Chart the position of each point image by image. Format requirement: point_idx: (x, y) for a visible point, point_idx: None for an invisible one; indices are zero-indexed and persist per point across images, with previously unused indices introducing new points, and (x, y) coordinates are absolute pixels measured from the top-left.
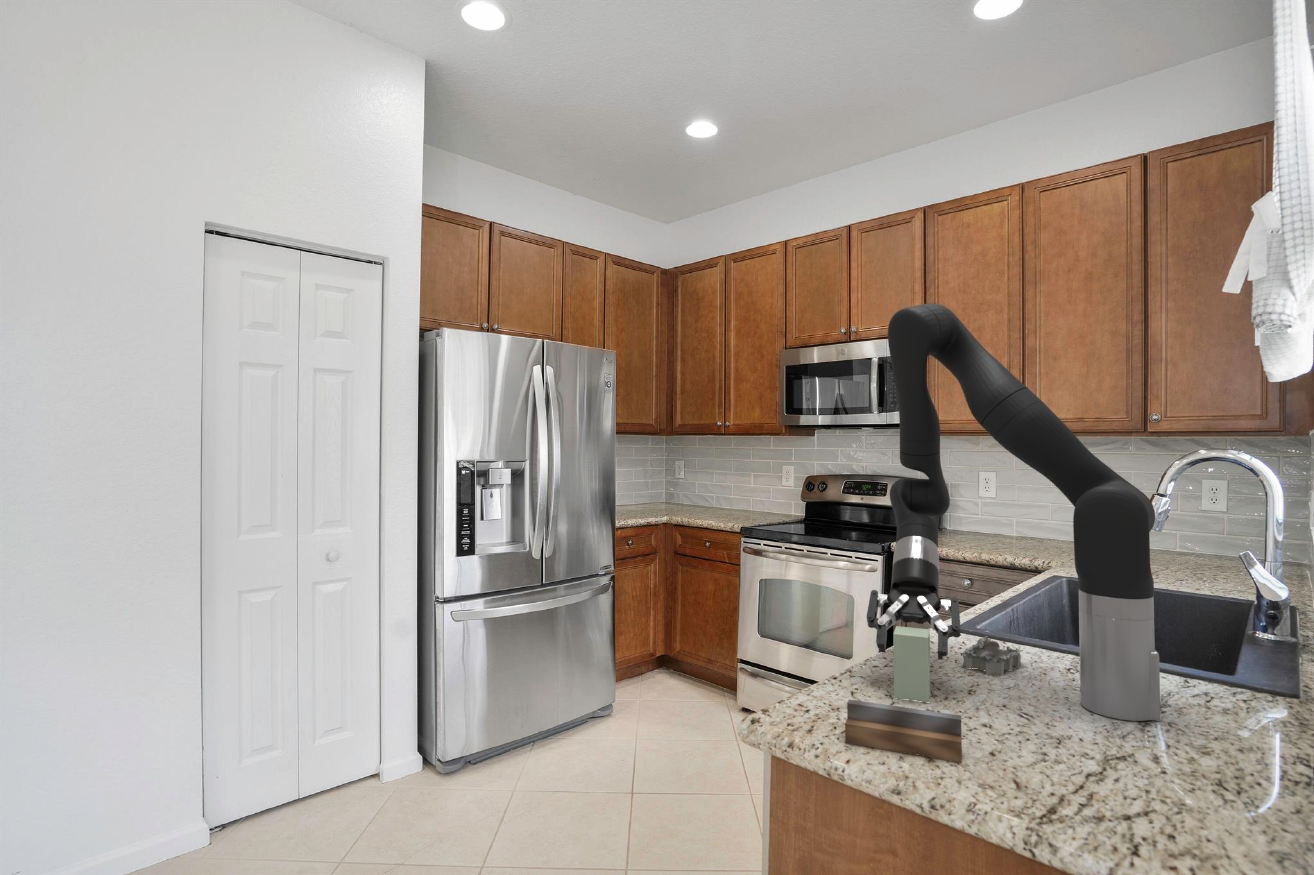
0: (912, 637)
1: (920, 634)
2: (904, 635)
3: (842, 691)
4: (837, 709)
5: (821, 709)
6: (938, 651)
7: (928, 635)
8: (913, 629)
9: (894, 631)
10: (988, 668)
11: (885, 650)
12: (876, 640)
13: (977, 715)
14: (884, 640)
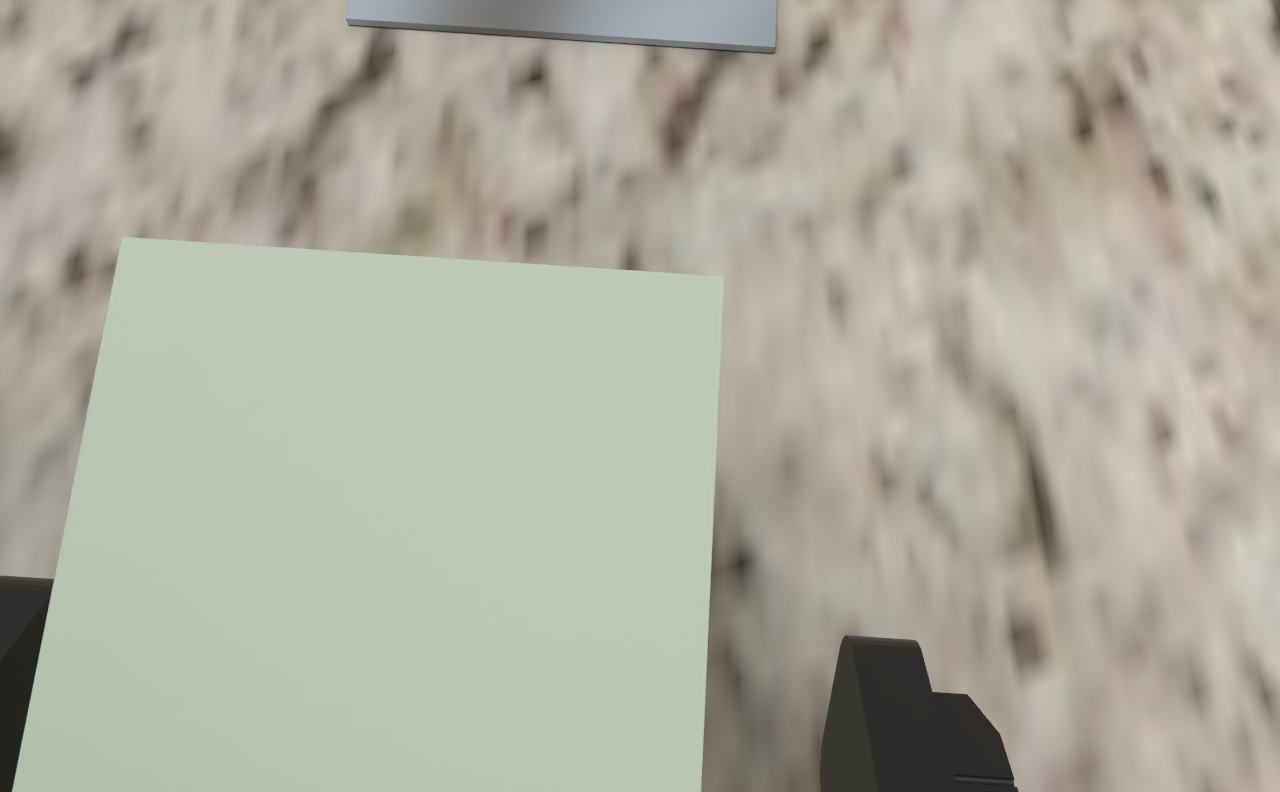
0: (396, 262)
1: (235, 402)
2: (530, 266)
3: (1131, 523)
4: (1082, 105)
5: (1195, 68)
6: (50, 580)
7: (93, 390)
8: (338, 760)
9: (712, 463)
10: None
11: (824, 779)
12: (995, 741)
13: (3, 334)
14: (867, 698)
